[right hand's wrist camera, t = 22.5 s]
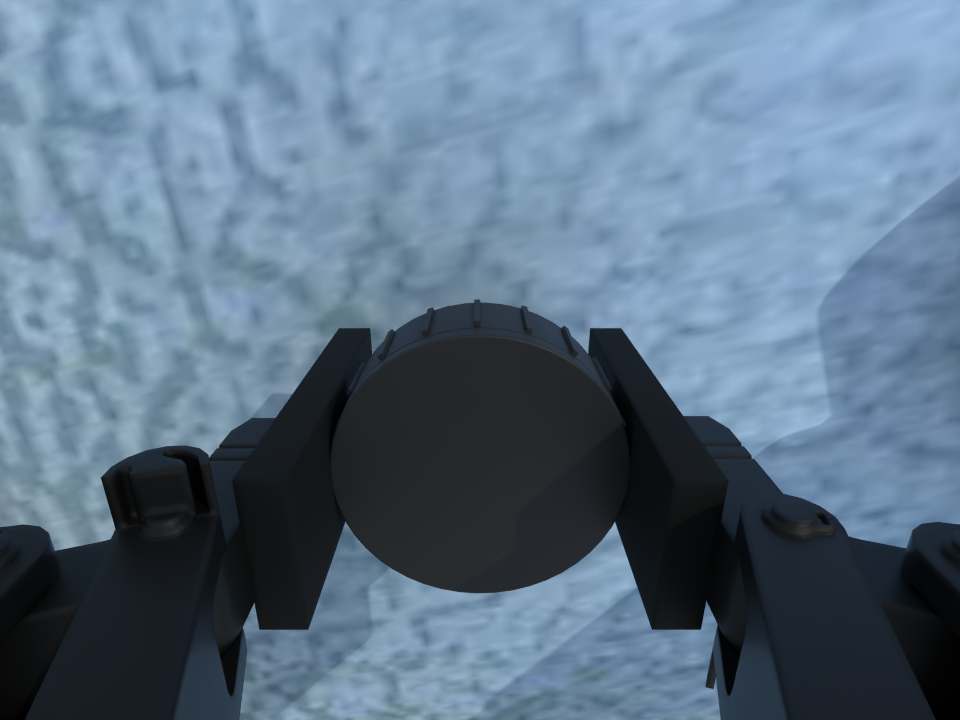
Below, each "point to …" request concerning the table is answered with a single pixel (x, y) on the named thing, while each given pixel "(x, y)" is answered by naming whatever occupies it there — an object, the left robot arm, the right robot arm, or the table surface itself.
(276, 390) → the table surface
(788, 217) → the table surface
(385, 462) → the lid
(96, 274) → the table surface
